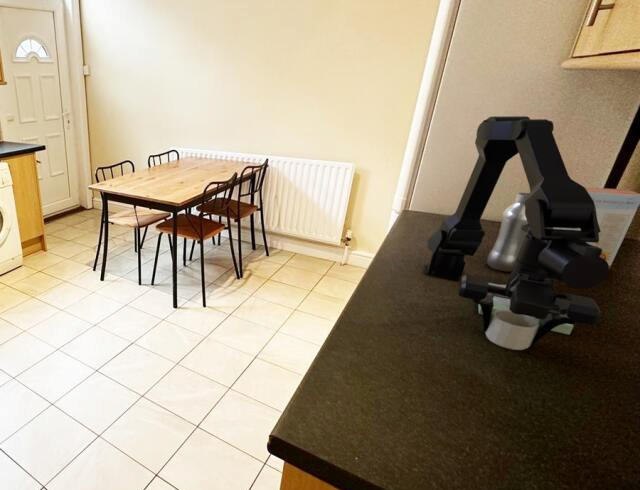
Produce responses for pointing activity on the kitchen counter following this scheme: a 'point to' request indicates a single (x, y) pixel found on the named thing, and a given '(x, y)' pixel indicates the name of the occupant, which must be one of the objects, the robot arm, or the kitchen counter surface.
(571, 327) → the scale
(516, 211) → the silver metal bottle
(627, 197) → the cracker box
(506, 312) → the bowl
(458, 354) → the kitchen counter surface
